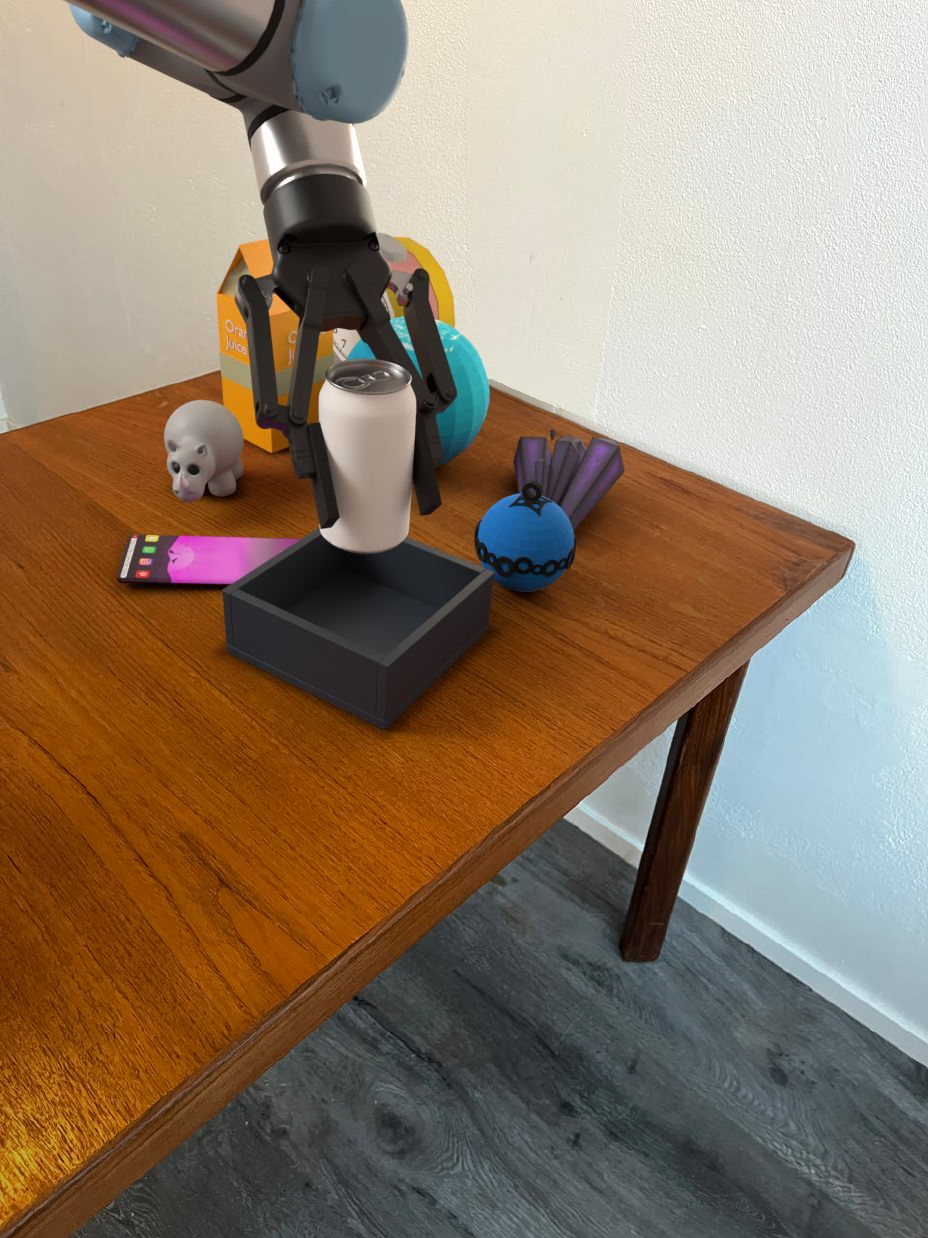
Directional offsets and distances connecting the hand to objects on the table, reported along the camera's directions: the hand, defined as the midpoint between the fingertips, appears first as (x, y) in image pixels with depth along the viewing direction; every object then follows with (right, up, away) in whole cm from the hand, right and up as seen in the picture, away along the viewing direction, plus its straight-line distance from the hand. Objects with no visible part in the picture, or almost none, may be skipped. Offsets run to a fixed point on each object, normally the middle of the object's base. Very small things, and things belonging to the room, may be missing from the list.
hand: (381, 515), depth 66 cm
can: (-2, -1, +5) cm, 5 cm away
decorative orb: (0, +9, +36) cm, 37 cm away
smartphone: (-16, -3, +17) cm, 23 cm away
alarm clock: (-5, +19, +48) cm, 52 cm away
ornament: (+10, -4, +19) cm, 22 cm away
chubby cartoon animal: (-19, +4, +26) cm, 33 cm away
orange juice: (-14, +13, +39) cm, 44 cm away
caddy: (-2, -9, +11) cm, 14 cm away
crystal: (+15, +5, +32) cm, 36 cm away
